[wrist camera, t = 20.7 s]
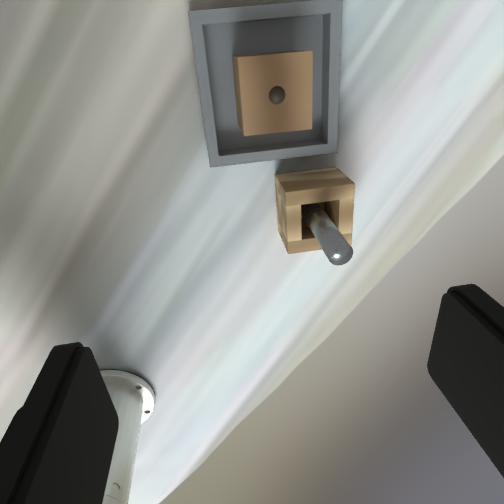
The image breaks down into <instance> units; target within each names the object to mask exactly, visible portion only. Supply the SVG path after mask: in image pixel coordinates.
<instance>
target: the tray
mask: <svg viewBox="0 0 504 504" xmlns="http://www.w3.org/2000/svg"><path fill="white" fill-rule="evenodd" d="M342 1H343V0H311V1H299V2H288V3H276V4H265V5H253V6H242V7H230V8H218V9H207V10H195V11H188V16H189V23H190V30H191V37H192V44H193V51H194V58H195V65H196V72H197V79H198V86H199V93H200V100H201V107H202V114H203V121H204V128H205V135H206V142H207V149H208V156H209V163H210V167H218V166H227V165H236V164H244V163H253V162H261V161H270V160H278V159H287V158H296V157H304V156H313V155H321V154H330V153H337V138H338V110H339V83H340V55H341V28H342ZM288 51H313V86H312V129H309V130H299V131H290V132H280V133H271V134H261V135H251V136H244V135H243V133H242V131H241V129H240V127H239V125H238V118H237V107H236V96H235V85H234V74H233V63H232V56H243V55H254V54H265V53H277V52H288Z"/></svg>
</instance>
